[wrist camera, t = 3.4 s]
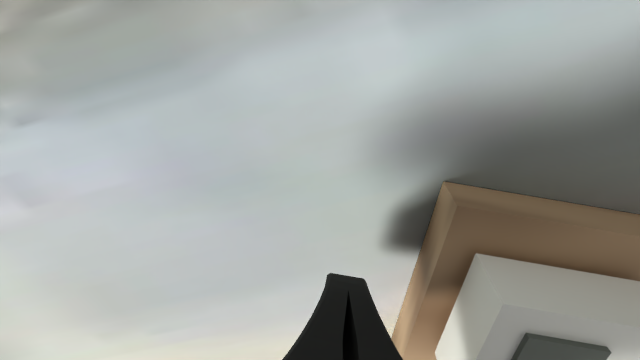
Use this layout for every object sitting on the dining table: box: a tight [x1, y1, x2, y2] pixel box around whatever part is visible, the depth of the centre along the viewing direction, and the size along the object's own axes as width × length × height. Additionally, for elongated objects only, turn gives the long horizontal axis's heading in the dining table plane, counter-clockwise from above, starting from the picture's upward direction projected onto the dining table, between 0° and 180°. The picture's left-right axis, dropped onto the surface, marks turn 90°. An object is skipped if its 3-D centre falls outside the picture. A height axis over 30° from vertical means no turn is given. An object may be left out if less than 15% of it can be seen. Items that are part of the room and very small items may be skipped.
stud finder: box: [435, 253, 640, 360], centre depth 12 cm, size 5×6×3 cm
